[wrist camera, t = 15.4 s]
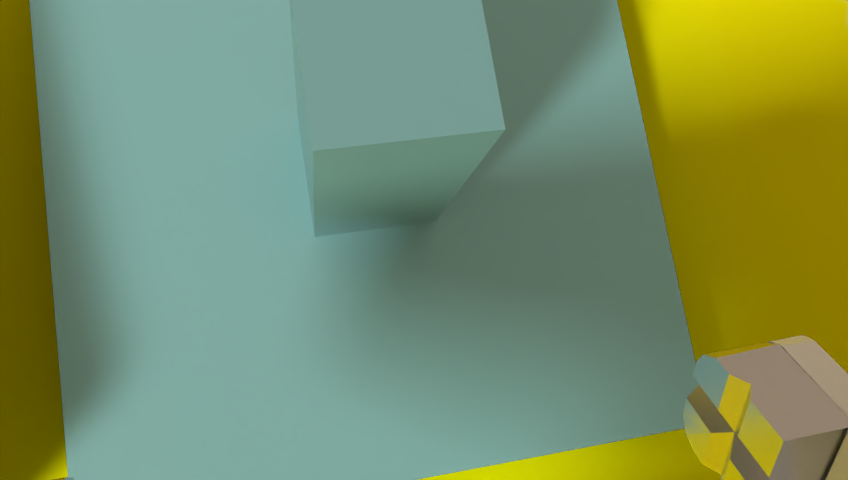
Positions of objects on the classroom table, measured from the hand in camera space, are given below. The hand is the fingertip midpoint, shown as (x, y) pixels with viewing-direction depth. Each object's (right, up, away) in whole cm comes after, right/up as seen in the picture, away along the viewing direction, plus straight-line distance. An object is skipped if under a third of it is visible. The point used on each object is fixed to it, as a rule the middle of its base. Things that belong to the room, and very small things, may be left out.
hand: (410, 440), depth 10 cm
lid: (-1, +4, +10) cm, 11 cm away
